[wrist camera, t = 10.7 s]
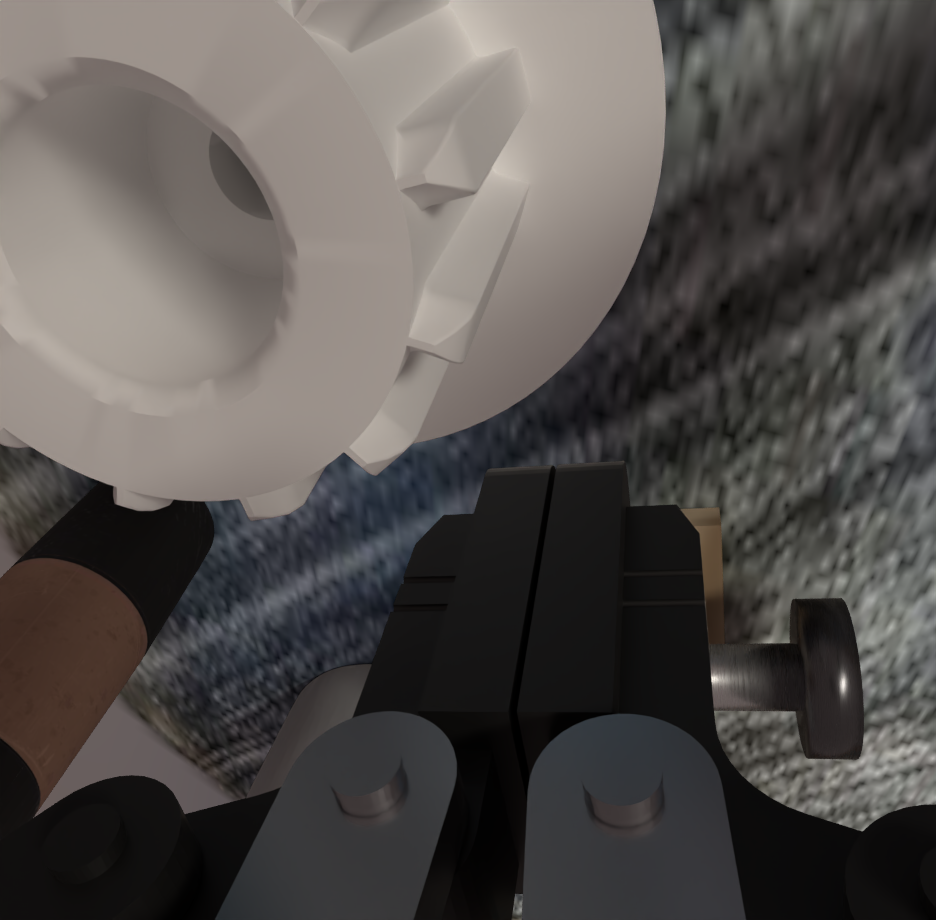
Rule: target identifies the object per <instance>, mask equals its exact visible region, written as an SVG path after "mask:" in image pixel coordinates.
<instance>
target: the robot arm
mask: <svg viewBox="0 0 936 920" xmlns="http://www.w3.org/2000/svg"><path fill="white" fill-rule="evenodd" d="M515 894H523V902H522V920H936V805H919V806H912V807H906V808H903V809H900V810H897V811H894V812H891V813H888V814H886V815H885V816H883V817H881V818H879V819H877V820H876V821H874V822H873V823H872V824H871V825H869V826H868V827H867V828H866V829H865V830H864V831H863V832H862V831H859V830H855V829H852V828H849V827H846V826H843V825H840V824H836V823H833V822H830V821H827V820H824V819H820V818H817V817H814V816H811V815H808V814H805V813H802V812H800V811H797V810H794V809H792V808H789V807H787V806H785V805H783V804H781V803H779V802H777V801H775V800H773V799H772V798H770V797H768V796H767V795H765V794H764V793H762V792H761V791H760V790H758V789H757V788H755V787H754V786H753V785H752V784H751V783H749V782H748V781H747V780H746V779H745V778H744V777H743V776H742V775H741V774H740V773H739V772H738V771H737V770H736V768H735V767H734V766H733V765H732V764H731V762H730V761H729V759H728V757H727V756H726V754H725V752H724V751H723V749H722V746H721V744H720V741H719V739H718V736H717V731H716V725H715V716H714V704H713V692H712V679H711V667H710V655H709V643H708V630H707V618H706V606H705V594H704V582H703V570H702V557H701V545H700V533H699V532H698V531H697V530H696V528H695V527H694V526H693V525H692V523H691V522H690V521H689V520H688V518H687V517H686V516H685V515H684V513H683V512H682V511H681V510H680V508H679V507H678V506H677V505H656V506H633V507H630V498H629V487H628V477H627V470H626V464H625V461H614V462H596V463H578V464H560V465H558V466H557V469H555V467H554V465H547V466H529V467H511V468H494V469H488V470H487V472H486V474H485V477H484V481H483V484H482V488H481V491H480V495H479V498H478V502H477V505H476V509H475V512H474V514H458V515H443V516H442V517H441V518H440V520H439V521H438V522H437V523H436V524H435V525H434V526H433V527H432V528H431V529H430V530H429V531H428V532H427V533H426V534H425V535H424V536H423V537H422V538H421V539H420V540H419V541H418V542H417V543H416V544H415V547H414V550H413V552H412V555H411V558H410V561H409V563H408V566H407V569H406V572H405V574H404V584H401V585H400V588H399V591H398V594H397V596H396V599H395V602H394V612H391V613H390V616H389V618H388V621H387V624H386V627H385V629H384V632H383V635H382V638H381V640H380V643H379V646H378V648H377V651H376V654H375V657H374V659H373V662H372V665H371V668H370V670H369V673H368V676H367V679H366V681H365V684H364V687H363V690H362V692H361V695H360V698H359V701H358V703H357V706H356V709H355V712H354V714H353V717H352V718H351V719H349V720H346V721H344V722H341V723H340V724H338V725H336V726H334V727H332V728H330V729H329V730H327V731H326V732H324V733H323V734H322V735H320V736H319V737H317V738H316V739H315V740H314V741H313V742H312V743H311V744H310V745H309V746H307V747H306V748H305V750H304V751H303V752H302V753H301V754H300V756H299V757H298V758H297V759H296V761H295V762H294V764H293V766H292V767H291V769H290V771H289V773H288V775H287V777H286V779H285V781H284V783H283V785H282V787H279V788H277V789H275V790H272V791H269V792H266V793H263V794H260V795H257V796H253V797H249V798H245V799H241V800H238V801H234V802H230V803H226V804H223V805H218V806H215V807H211V808H207V809H204V810H199V811H196V812H192V813H188V814H184V812H183V810H182V808H181V806H180V804H179V803H178V801H177V799H176V797H175V795H174V794H173V792H172V791H171V790H170V789H169V788H168V787H167V786H166V785H164V784H163V783H161V782H159V781H157V780H155V779H152V778H148V777H145V776H132V775H131V776H119V777H114V778H110V779H105V780H102V781H99V782H96V783H93V784H90V785H88V786H86V787H84V788H81V789H79V790H77V791H75V792H73V793H72V794H70V795H68V796H67V797H65V798H63V799H62V800H60V801H58V802H57V803H55V804H54V805H53V806H51V807H49V808H48V809H46V810H45V811H43V812H42V813H40V814H39V815H37V816H36V817H34V818H33V819H31V820H30V821H28V822H27V823H25V824H24V825H22V826H21V827H19V828H18V829H16V830H15V831H13V832H12V833H10V834H9V835H7V836H6V837H4V838H3V839H1V840H0V920H512V913H513V905H514V898H515Z"/></svg>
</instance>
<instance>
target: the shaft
mask: <svg viewBox="0 0 936 920" xmlns="http://www.w3.org/2000/svg"><path fill="white" fill-rule="evenodd" d="M709 655H710V667H711V679H712V692H713V704H714V711H796V718H797V724H798V730H799V735H800V740H801V744H802V748H803V751H804V754H805V756H806V758H808V759H852V760H857V759H859V757H860V755H861V751H862V746H863V734H864V707H863V690H862V679H861V670H860V662H859V655H858V648H857V643H856V637H855V632H854V628H853V624H852V620H851V616H850V613H849V610H848V608H847V605H846V603H845V601H844V600H843V599H842V598H821V599H793V600H792V603H791V609H790V643H767V644H709Z"/></svg>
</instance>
